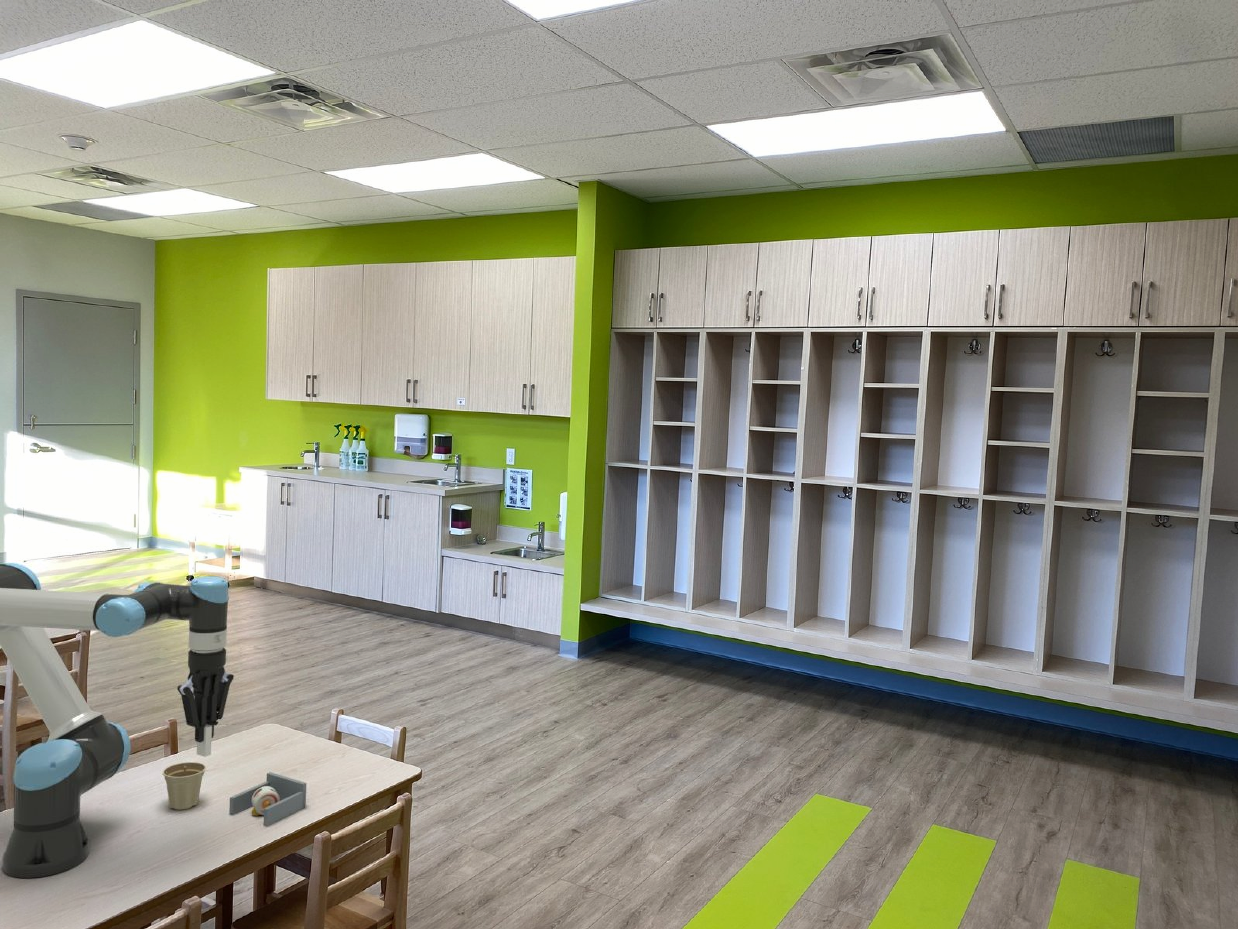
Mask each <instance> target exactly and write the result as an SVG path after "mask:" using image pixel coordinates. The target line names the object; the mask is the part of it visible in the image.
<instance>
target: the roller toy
mask: <svg viewBox="0 0 1238 929" xmlns="http://www.w3.org/2000/svg"><path fill="white" fill-rule="evenodd" d="M279 801H280V798H279V795H278V794H277V792H276V791H275V789H274V788H272V787H270V786H264V787H261V788H259V789H258V790H257V791H256V792H255V793H254V794H253V796H252V800H251V802H252V806H251V807H253V808H251V814H252V815H253V816H256V817H257V816H259V815H261V816H264V808H266V807H268V806H271V805H273V804H275V803H277V802H279Z"/></svg>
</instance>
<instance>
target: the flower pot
mask: <svg viewBox="0 0 1238 929" xmlns="http://www.w3.org/2000/svg"><path fill="white" fill-rule="evenodd" d="M206 770H207V766H206V764H205V763H202V762H199V761H185V762H178V763H174V764H171V765H169V766H166V767H165V768H164V769H162V775H163V776H164V780H165V782H166V789H167V790H166V792H167V796H168V805H169V808H171V809H175V810H177V811H178V810H180V811H182V810H187V809H190V808H192V807H195V806H197V805H198V803H199V798H200V793H201V787H202V781H203V776H204V774H205V772H206Z"/></svg>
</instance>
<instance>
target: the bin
mask: <svg viewBox="0 0 1238 929" xmlns="http://www.w3.org/2000/svg"><path fill="white" fill-rule="evenodd" d="M264 786H270V787H272V788H274V789H275V791H276V792H277V794H278V795H279V798H280V801H279V802H277V803H275V804H273V805H271V806H268V807H266V808H264V815H263V826H264V827H269V826H271V825H273V824H276V823H277V822H279V821H280V820H283V819H285V818H287V817H289V816H291V815H292V814H295V813H297V812H299V811H301V810H303V809H304V808H306V807H307V806H306V804H307V782H305V781H301V780H297V779H295V778H292V777H288V776H284V775H281V774H278V773H274V772H272V771H269V772H266V781H264V782H262V783H260V784H258V785H255V786H253V787H251V788H248V789H246V790H244V791H241V792H239V793H236V794H235V795H232V796H230V797H229V807H228V808H229V811H228V812H229V813H228V814H229V815H231V816H233V815H236V814H238V813H241V812H243V811H245V810H246V809H248V808H251V807H253V806H252V802H251V800H252V796H253V794H254V793H255V792H256V791H257V790H258V789H259V788H261V787H264ZM296 811H297V812H296Z"/></svg>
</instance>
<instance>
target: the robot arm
mask: <svg viewBox="0 0 1238 929" xmlns="http://www.w3.org/2000/svg"><path fill="white" fill-rule="evenodd" d="M229 599H230V597H229V583H228V581H227V579H226V578H224V577H221V576H199V577H195V578H193V579H192V580H191V581H190V585H183V584H174V583H173V584H172V583H162V582H157V581H156V582H144V583H141V584H139V585H138V586H137V588H136V589H135V590H134V592H132V593H130V594H114V593H112V594H109V593H101V592H100V593H97V592H96V593H95V592H83V591H82V592H80V591H61V590H44V589H43V590H42V586H41V582H40V580H39V578H38V577H37V575H36V574H35V572H33V571H32V569H30V568H29V567H27V566H25V565H22V564H19V563H17V562H16V563H15V562H7V563H4V562H2V563H0V648H1V649H2V651H3V652H2V653H4V654H5V657H6V658H7V660H8V662H9V664H10V665H11V667H12V669H13V671H14V672H15V674H16V675H17V678H18V679H19V681H20V683H21V684H22V686H23V688H24V689H25V691H26V693H27V695H28V697H29V698H30V700H31V702H32V703H33V705H34V708H36V711H37V712H38V713H39V716H40V717H41V719H42V721H43V722H44V724H45V726H46V728H47V729H48V731H49V736H48V739H47V741H46V742H43V743H42V742H40V743H37V744H35V745H32V746H30V747H29V748H27V749H25V750H24V751H23V752H22V753H21V754H20V755H19V756H18V757H17V759H16V761H15V764H14V772H13V776H12V781H13V828H12V832H11V834H10V837H9V840H8V842H7V845H6V848H5V851H4V853H3V855H2V871H3V872H4V874H6V875H8V876H11V877H14V878H19V879H21V878H22V879H31V878H35V879H36V878H41V877H48V876H51V875H56V874H59V873H62V872H66V871H67V870H70V869H72V868H75V867H76V866H78V865H79V864H81V863H83V862H84V861H85V860H86V859H87V857H88V856H89V854H90V853H89V852H90V840H89V838H88V835H87V833H86V830H85V828H84V825H83V823H82V820H81V796H82V795H83V794H85V793H87V792H89V791H90V790H92V789H94V788H95V787H97V786H98V785H100V784H102V783H103V782H105V781H107V780H109V779H111V778H112V777H114V776H115V775H116V774H117V773H118V772H119V771H120V770H122V769H123V768H124V766H126V764H127V762H128V761H129V756H130V753H131V748H132V747H131V741H130V740H131V739H130V738H129V737H130V736H129V735H128V732H127V731H126V730H125V729H124V728H123V727H122V725H120V724H116V723H115V722H112V721H111V722H110V721H107V720H106V718H105V717H104V715H103V712H99V711H95V710H94V711H93V710H92V709H91V708H90V706H89V704H88V703H87V702H86V700H85V697H84V696H83V694H82V693H81V691H80V689H79V687H78V685H77V683H76V682H75V680H74V679H73V677H72V675H71V674H70V671H69V670H68V667H67V666H66V665H65V663H64V661H63V659H62V658H61V656H60V654H59V653H58V650H57V649H56V648H55V646H54V644H53V642H52V641H51V638H50V636H49V635H48V633H47V632H46V630H45V629H46V628H47V629H60V630H78V631H79V630H80V631H99V632H101V633H102V634H104V635H106V636H107V637H111V638H119V637H124V636H129V635H131V634H133V633H136V632H137V631H140V630H142V629H144V628H147V627H149V626H152V625H154V624H157V623H161V622H163V621H165V620H176V621H188V623H189V624H188V627H189V628H188V647H187V648H188V649H189V650H188V653H187V657H188V658H187V666H188V670H189V673H188V675H187V681H186V682H185V683H184V684H183V685H182V684H180V685H178V686H177V688H176V689H177V691H178V693H179V694H180V696H181V701H182V706H183V712H184V718H185V722H186V725H187V726H190V727H193V728H194V741H195V742H196V755H197V756H201V757H203V758H206V757H209V756H211V755H212V739H213V738H214V735H215V726H218V724H219V721H218V720H222V719H223V716H224V713H225V708H226V704H227V700H228V695H229V691H230V686H231V684H232V682H233V680H234V677H235V676H234V674H231V673H228V672H226V669H225V665H226V663H227V661H226V660H227V649H226V648H225V647H226V646H227V638H228V637H227V636H228V634H227V633H228V629H227V628H228V623H227V622H228V608H229V607H228V606H229Z"/></svg>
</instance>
